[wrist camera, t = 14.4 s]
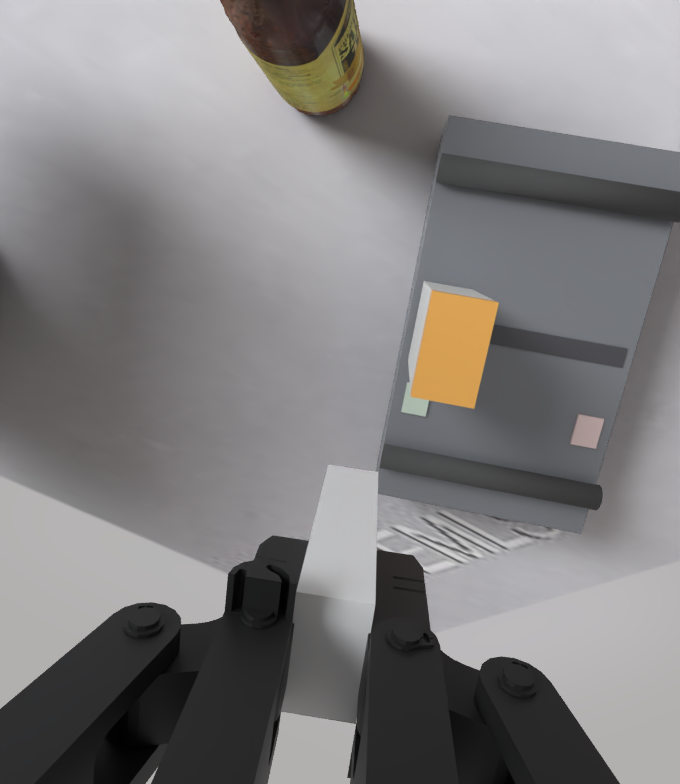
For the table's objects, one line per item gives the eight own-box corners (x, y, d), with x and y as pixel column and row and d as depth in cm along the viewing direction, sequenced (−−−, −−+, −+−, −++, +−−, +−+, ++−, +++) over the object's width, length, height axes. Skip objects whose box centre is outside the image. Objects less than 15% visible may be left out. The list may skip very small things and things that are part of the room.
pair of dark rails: (380, 463, 39) (379, 471, 38) (440, 155, 35) (442, 150, 33) (589, 503, 39) (597, 514, 37) (681, 194, 34) (694, 191, 32)
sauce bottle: (375, 104, 40) (351, -35, 21) (287, 130, 41) (187, 20, 22) (352, 0, 39) (303, -252, 19) (262, 29, 40) (131, -184, 20)
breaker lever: (407, 359, 37) (410, 396, 28) (423, 280, 36) (432, 290, 26) (454, 368, 37) (473, 408, 27) (472, 289, 36) (498, 302, 26)
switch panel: (377, 462, 46) (374, 494, 40) (441, 135, 40) (449, 114, 34) (557, 497, 45) (581, 535, 39) (649, 169, 39) (694, 154, 33)
